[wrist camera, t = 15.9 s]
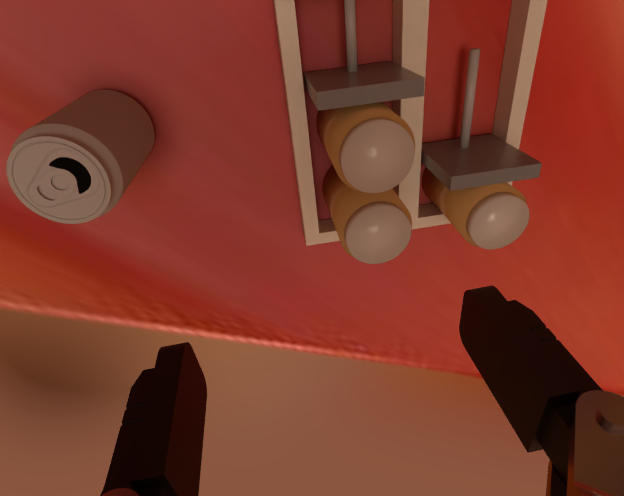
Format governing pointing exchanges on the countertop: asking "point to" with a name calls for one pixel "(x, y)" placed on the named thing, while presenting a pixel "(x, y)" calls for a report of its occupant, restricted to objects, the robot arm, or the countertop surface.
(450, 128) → the countertop surface
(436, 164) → the pusher
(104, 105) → the beverage can
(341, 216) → the jar
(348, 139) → the jar
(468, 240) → the jar
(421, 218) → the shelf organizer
